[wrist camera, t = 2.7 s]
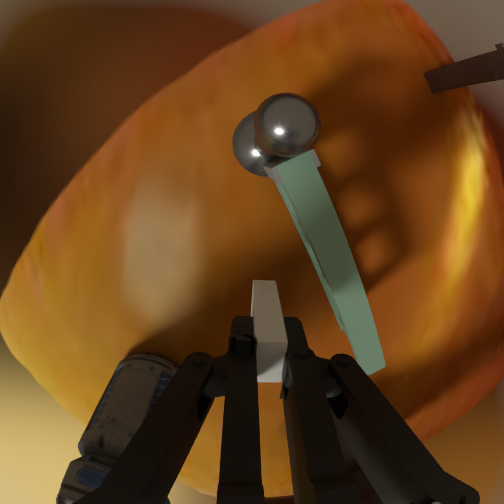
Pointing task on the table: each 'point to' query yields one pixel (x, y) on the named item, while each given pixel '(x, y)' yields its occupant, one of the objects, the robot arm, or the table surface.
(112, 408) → the beverage bottle
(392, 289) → the table surface
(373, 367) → the gate
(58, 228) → the table surface
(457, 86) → the post
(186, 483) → the table surface
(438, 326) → the table surface
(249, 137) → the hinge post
